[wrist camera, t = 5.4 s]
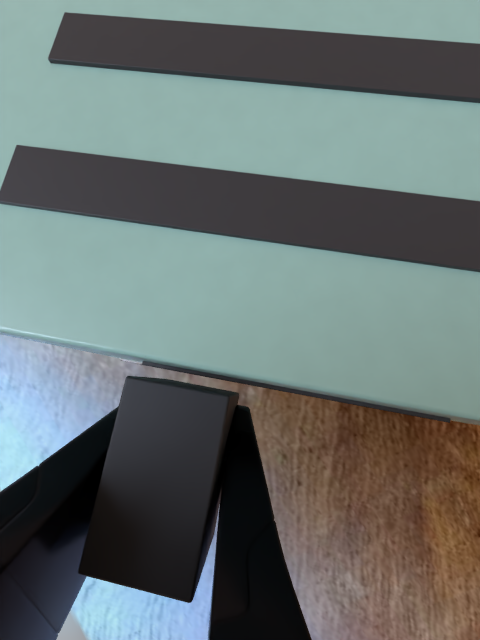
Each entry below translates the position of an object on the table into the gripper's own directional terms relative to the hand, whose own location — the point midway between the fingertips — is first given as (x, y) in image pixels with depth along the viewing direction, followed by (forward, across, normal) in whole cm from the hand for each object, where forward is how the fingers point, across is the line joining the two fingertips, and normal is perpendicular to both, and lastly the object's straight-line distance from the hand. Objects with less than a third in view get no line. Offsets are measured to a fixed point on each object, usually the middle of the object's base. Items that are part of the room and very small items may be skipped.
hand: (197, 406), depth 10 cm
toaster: (+9, -2, +1) cm, 9 cm away
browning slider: (-1, 0, +1) cm, 1 cm away
